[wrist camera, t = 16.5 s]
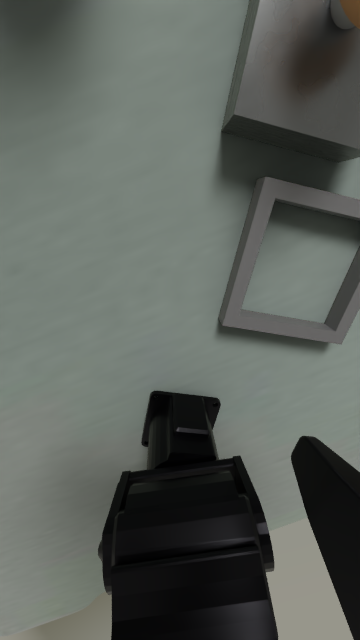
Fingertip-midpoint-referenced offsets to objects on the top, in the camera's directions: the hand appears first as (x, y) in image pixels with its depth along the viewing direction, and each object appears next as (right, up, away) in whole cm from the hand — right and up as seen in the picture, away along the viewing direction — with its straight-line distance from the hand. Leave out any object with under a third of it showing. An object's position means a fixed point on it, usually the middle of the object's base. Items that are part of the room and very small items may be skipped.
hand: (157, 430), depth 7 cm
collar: (+10, +7, +12) cm, 17 cm away
